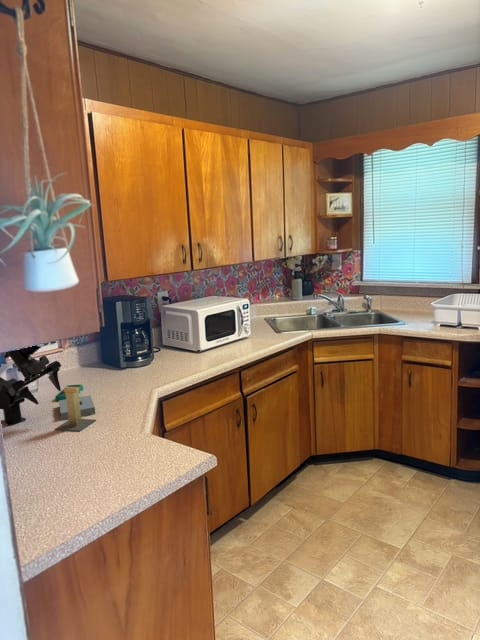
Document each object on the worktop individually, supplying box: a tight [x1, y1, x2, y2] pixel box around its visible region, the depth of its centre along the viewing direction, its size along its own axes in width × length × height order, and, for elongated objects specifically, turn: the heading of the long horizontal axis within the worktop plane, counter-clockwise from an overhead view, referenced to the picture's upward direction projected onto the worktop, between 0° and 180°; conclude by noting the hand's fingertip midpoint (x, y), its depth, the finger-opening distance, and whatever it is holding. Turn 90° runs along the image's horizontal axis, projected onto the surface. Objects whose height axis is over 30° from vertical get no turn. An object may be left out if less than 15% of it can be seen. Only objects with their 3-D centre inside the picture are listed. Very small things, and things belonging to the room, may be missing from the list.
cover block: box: [58, 394, 96, 421], centre depth 185 cm, size 12×16×2 cm
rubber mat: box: [54, 418, 97, 433], centre depth 169 cm, size 10×10×1 cm
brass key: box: [63, 386, 82, 426], centre depth 168 cm, size 5×3×14 cm, turn 74°
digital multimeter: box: [54, 384, 84, 402], centre depth 204 cm, size 7×15×3 cm, turn 1°
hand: (49, 397), depth 170 cm, fingers open, 9 cm apart
